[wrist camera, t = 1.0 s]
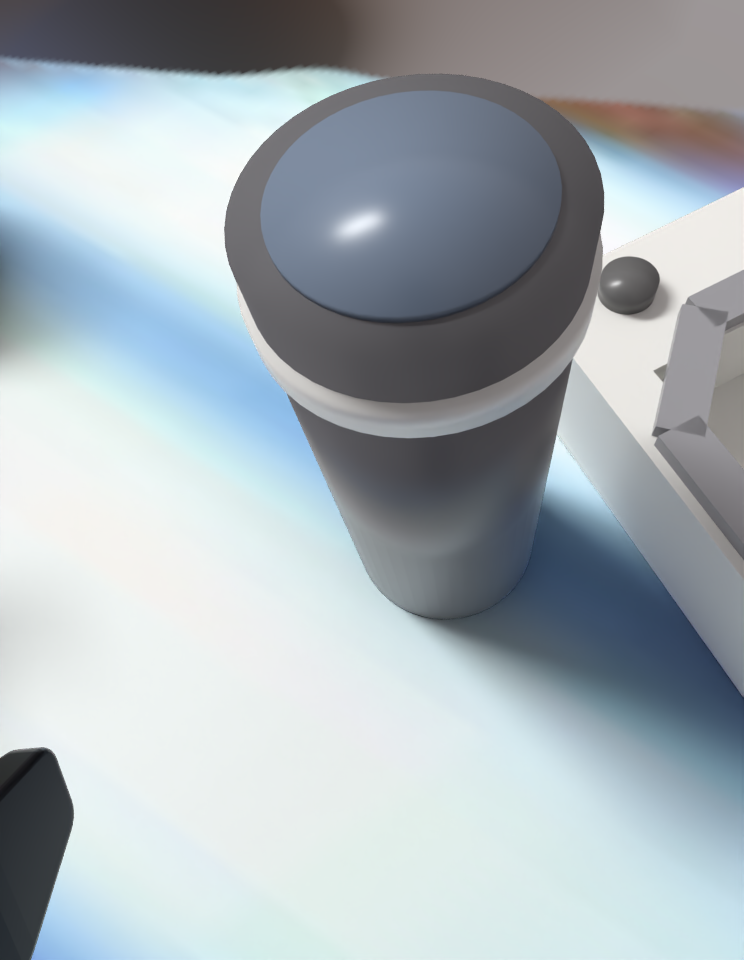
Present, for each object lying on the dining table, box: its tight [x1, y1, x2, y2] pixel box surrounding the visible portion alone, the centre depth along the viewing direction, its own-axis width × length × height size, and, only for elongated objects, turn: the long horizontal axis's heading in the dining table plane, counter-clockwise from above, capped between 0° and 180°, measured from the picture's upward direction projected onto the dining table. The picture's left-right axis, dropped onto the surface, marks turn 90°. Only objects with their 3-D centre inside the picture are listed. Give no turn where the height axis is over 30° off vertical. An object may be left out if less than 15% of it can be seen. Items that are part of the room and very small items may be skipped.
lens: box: [224, 74, 604, 619], centre depth 17 cm, size 6×6×14 cm
